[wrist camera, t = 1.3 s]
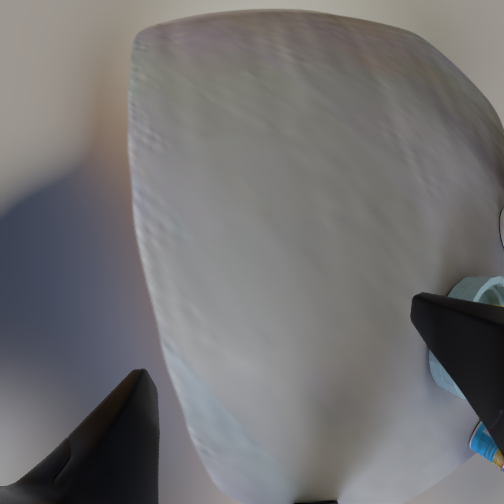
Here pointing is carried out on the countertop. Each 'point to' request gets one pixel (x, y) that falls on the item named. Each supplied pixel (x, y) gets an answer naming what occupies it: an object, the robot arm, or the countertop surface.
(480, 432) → the beverage bottle
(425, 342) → the robot arm
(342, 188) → the countertop surface
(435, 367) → the bowl
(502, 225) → the milk bottle
